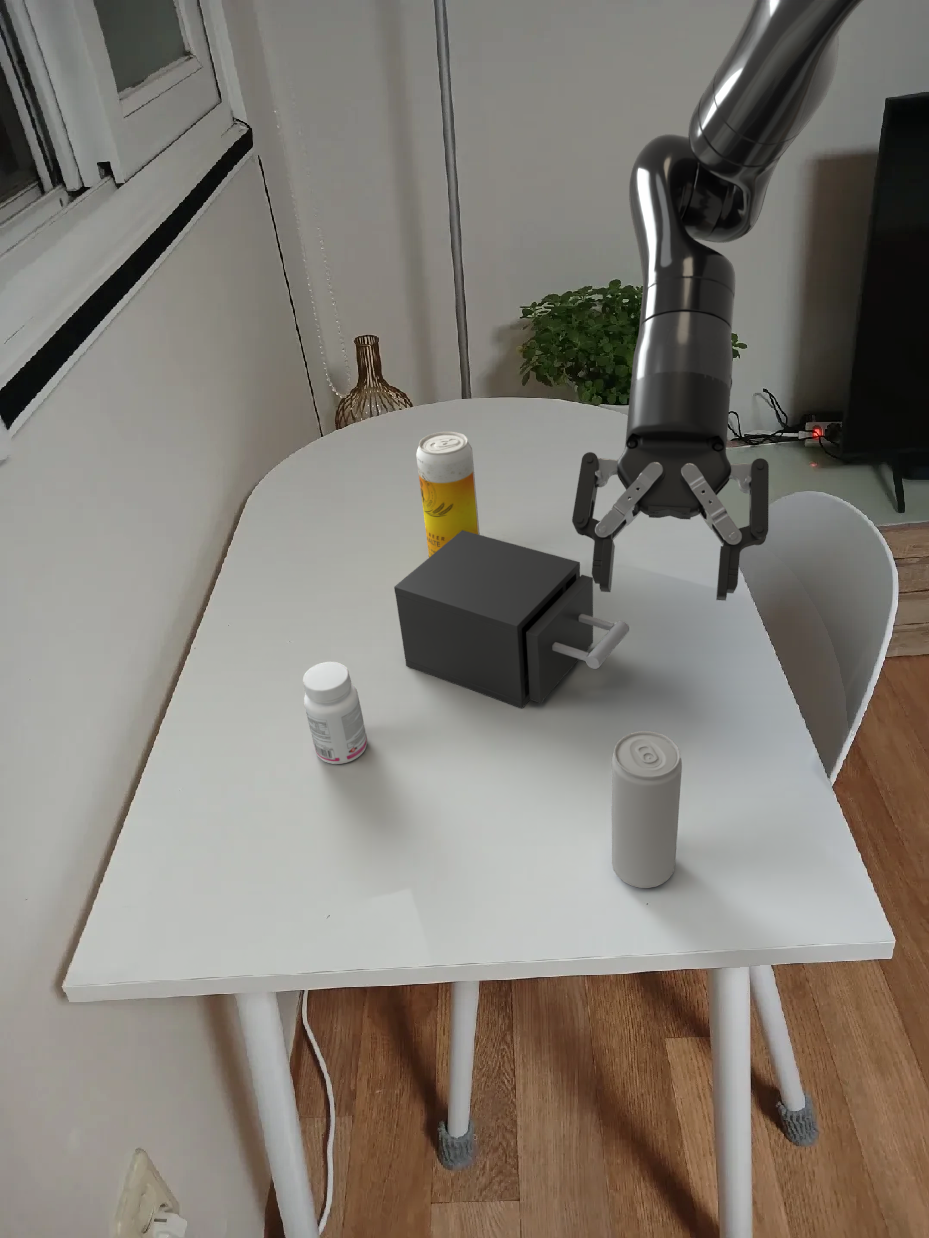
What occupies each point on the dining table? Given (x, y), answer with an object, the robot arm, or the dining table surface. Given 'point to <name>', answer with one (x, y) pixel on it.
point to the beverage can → (645, 808)
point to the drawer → (565, 637)
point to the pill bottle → (334, 713)
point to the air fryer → (478, 612)
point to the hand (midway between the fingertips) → (662, 594)
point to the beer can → (447, 487)
